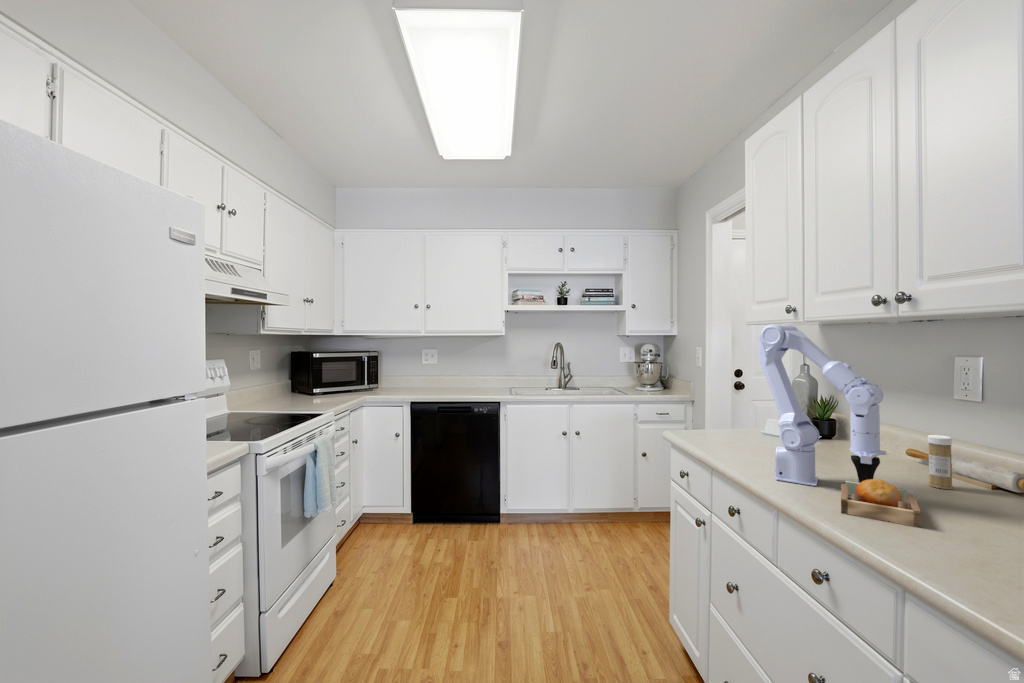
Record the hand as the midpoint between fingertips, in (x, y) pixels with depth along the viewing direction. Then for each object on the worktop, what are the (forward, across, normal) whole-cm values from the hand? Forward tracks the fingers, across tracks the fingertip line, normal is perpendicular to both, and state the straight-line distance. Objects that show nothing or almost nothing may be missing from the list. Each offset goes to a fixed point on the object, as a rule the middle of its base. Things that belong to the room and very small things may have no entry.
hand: (865, 486), depth 109 cm
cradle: (+3, -10, -2) cm, 10 cm away
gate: (+2, -1, -3) cm, 4 cm away
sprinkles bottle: (+3, +20, -16) cm, 25 cm away
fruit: (+3, -10, -2) cm, 11 cm away
